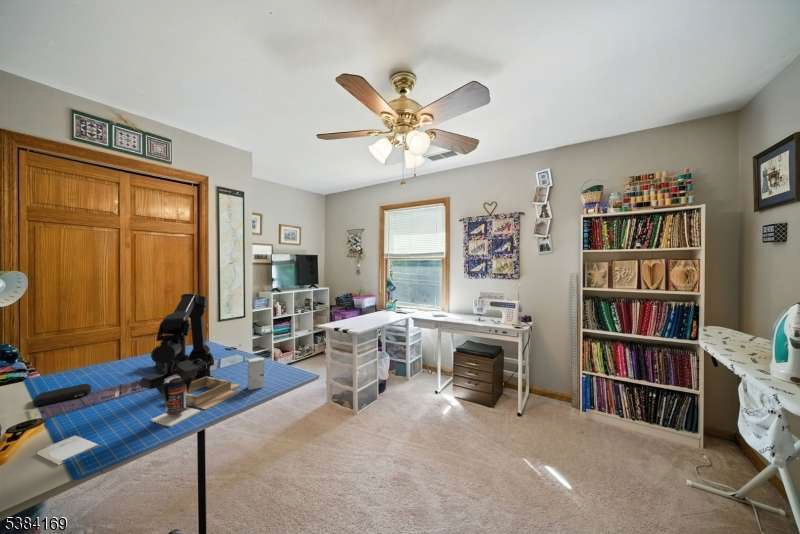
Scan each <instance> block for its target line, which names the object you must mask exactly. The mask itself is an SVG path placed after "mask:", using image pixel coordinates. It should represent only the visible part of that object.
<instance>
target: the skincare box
mask: <svg viewBox="0 0 800 534" xmlns="http://www.w3.org/2000/svg"><path fill="white" fill-rule="evenodd" d="M264 380H265V358H264V357H263V356H262V357H254V358H248V359H247V389H248V391H250V390H255V389H261V388H262V389H263V388H264V385H265V381H264Z"/></svg>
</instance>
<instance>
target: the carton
mask: <svg viewBox="0 0 800 534" xmlns="http://www.w3.org/2000/svg"><path fill="white" fill-rule="evenodd" d="M241 386H242V385H241V384H236V383H232V381H231V380H225V379H220V378H216V377H213V378H212V377H207V376H205V377H203V378H200V379H198V380H195V381H192V382H191V384H190V387H189V390H188V392H187V407H188V406H189V407H192V406H193V407H192V408H196V407H197V409H200V408H201V409H200V410H203V409H204V410H205V411H206V410H209V409H210V407H211V408H213V407H215V406H216V405H219V404H221V403H222V402H225V401H227V400H228V398H229V399H230V398H233V397H235V396H237V395H239V394H240V393H241V392H240V391H236V390H235V389H237V388H240V387H241ZM205 387H207V388H211V389H208V390H206V391H204V392H202V393H200V394H198V395H194V394H191V393H193V391H194V392H196V391H199V390H201V389H203V388H205ZM200 388H201V389H200ZM233 389H234V390H233ZM195 390H196V391H195Z"/></svg>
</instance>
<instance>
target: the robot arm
mask: <svg viewBox="0 0 800 534" xmlns="http://www.w3.org/2000/svg"><path fill="white" fill-rule="evenodd" d="M208 305H209V299H208V298H207V297H206V296H203V295H199V294H198V293H184V294H181V296H180V301H179V302H178V304H177V306H176V307H175V309H174V311H173V312H172V313H170V314H166V316H165V317H164V318H163V319H162V321H161V322H160V324H159V327H158V333H157V335H156V336H157V337H156V342H160V345H161V346H159V345H158V346H159V347H158V348H157V349H156V350H155V351H154V353H153V358H154V360H155V361H157V362H158V363H165V369H163V373H162V374H161V375H160V374H156V373H152V374H148V375H146V376H144V377H142V378H141V380H140V381H139V387H141V388H144V389H147V390H153V389H156V390H157V392H158V393H159V394H160V395H161V397H162V399H163V400H164V402H165V403H166V402H167V401H168V398H169V396H168V387H169V385H170V383H169V382H168V380H169V379H171V378H173V377H174V378H175V377H176V376H178V377H179V378H182V379H183V383H185V384H186V385H187V392H188V390H189V387H190V384H191V382H193V381H195V380H198V379H200V378H203V377H205V376H207V377H212V378H214V376H213V375H211V367H212V366H215V360H214V359H215V358H214V356H213V354H212V352H211V348H210V347H209V346H208V345H207V344H206V337H205V325H204V313H205V312H206V310H207V308H208ZM189 319H190V320H189ZM190 329H191V338H192V340H191V342H192V349H191V351H190V353H189V354H187V353H186V352H187V351H186V347H187V346H186V340H187V339H186V338H187V336H189V333H190Z"/></svg>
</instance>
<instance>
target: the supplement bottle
mask: <svg viewBox="0 0 800 534" xmlns="http://www.w3.org/2000/svg"><path fill="white" fill-rule="evenodd" d="M168 383H170V385H169V387H168V396H169V398H168V401H167V402H166V401H165V413H166V414H168V415H176V414H179V413H182V412H183V411H185V410H186V409H187V407H188V405H187V385H186V384H185V383H183V379H182V378H181V377H174V378H172V379H171V378H170V380H169V381H168Z"/></svg>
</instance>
